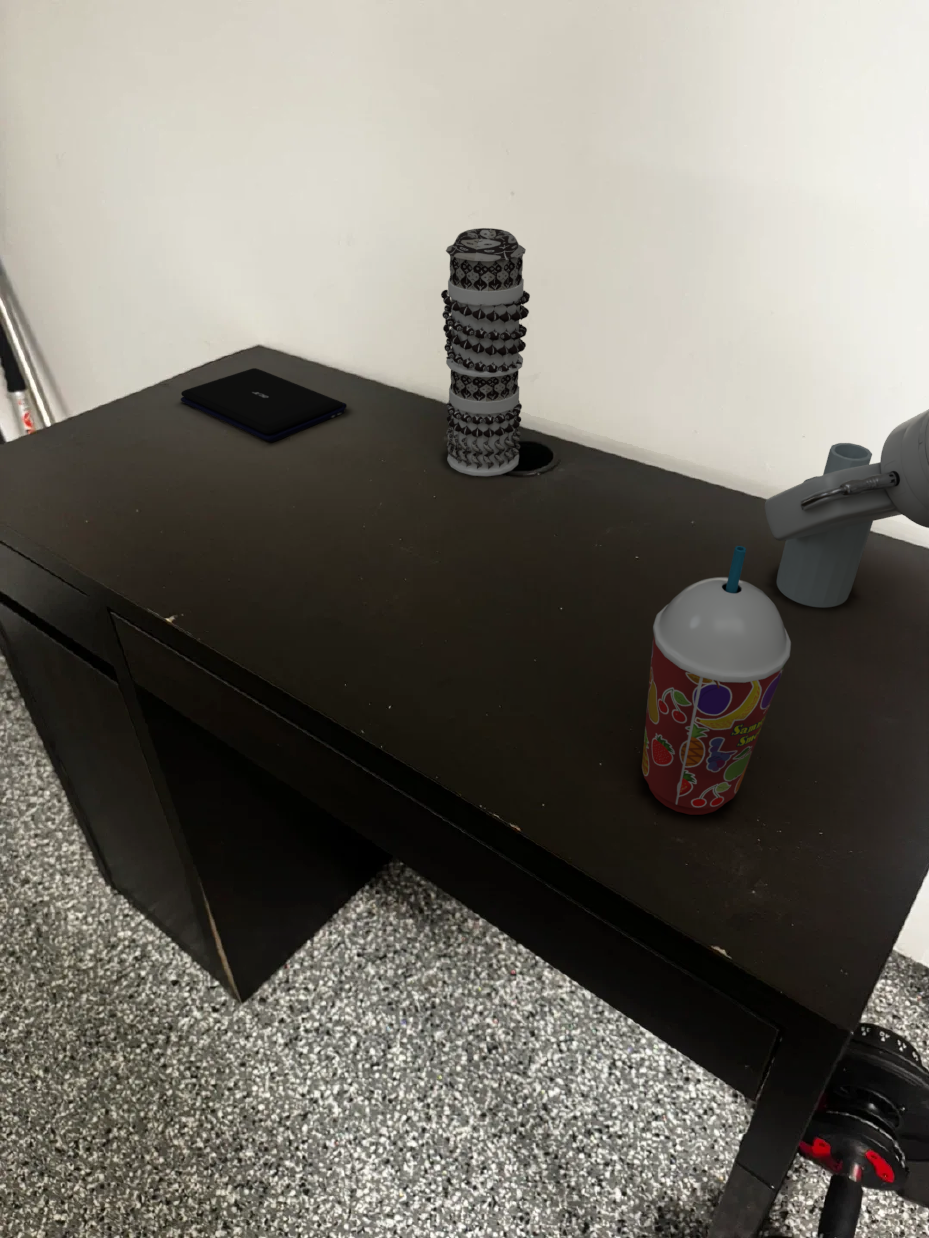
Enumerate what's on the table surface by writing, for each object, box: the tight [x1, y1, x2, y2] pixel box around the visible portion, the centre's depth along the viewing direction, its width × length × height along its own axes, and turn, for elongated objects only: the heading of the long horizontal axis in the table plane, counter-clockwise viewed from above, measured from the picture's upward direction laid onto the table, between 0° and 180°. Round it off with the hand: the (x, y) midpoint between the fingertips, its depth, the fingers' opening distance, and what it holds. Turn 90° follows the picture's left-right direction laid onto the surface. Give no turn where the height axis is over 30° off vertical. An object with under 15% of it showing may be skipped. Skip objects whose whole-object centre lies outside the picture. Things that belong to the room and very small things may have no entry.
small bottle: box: [775, 442, 874, 608], centre depth 80 cm, size 6×6×14 cm
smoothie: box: [641, 545, 792, 816], centre depth 58 cm, size 8×8×20 cm
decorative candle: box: [440, 227, 531, 477], centre depth 97 cm, size 9×9×25 cm
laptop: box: [180, 367, 347, 443], centre depth 116 cm, size 16×20×2 cm
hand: (826, 517), depth 80 cm, fingers closed on small bottle, 6 cm apart
